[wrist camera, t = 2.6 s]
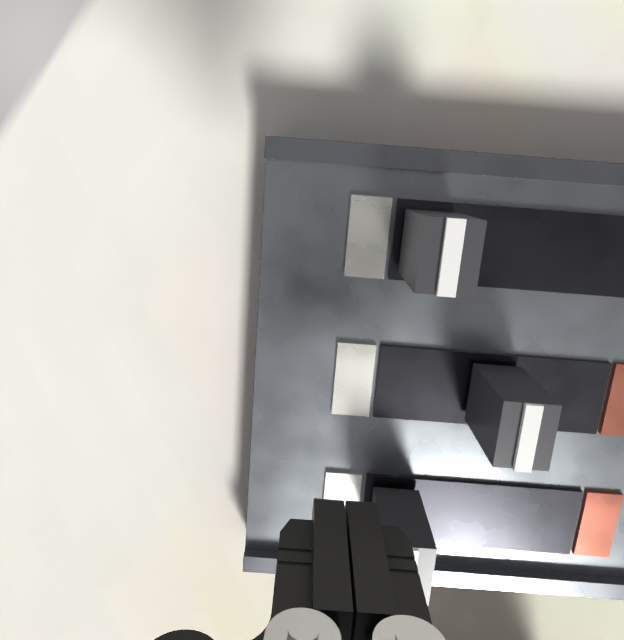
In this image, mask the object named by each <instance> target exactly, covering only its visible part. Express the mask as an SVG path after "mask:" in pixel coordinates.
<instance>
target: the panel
mask: <svg viewBox="0 0 624 640" xmlns="http://www.w3.org/2000/svg"><path fill="white" fill-rule="evenodd" d="M265 158H266V169H265V188H264V207H263V225H262V244H261V263H260V282H259V301H258V319H257V338H256V357H255V376H254V395H253V413H252V432H251V451H250V470H249V489H248V507H247V526H246V545H245V552H244V559H243V572H256V573H270V574H276V566H277V556H278V546H279V537H280V531H281V530H282V528H283V527H284V526H285V525H286V523H287V522H288V521H289V520H290V518H291V519H304V520H312V509H313V500H314V498H318V499H332V500H344V505H345V502H346V500H347V501H361V502H372V494H373V487H382V488H395V489H409V490H419V492H420V495H421V499H422V502H423V505H424V508H425V512H426V515H427V518H428V521H429V524H430V528H431V531H432V534H433V537H434V541H435V544H436V547H437V554H436V561H435V567H434V574H433V580H432V586H441V587H454V588H468V589H481V590H494V591H507V592H520V593H534V594H547V595H560V596H573V597H586V598H600V599H613V600H624V164H619V163H607V162H594V161H581V160H568V159H556V158H543V157H530V156H518V155H505V154H492V153H479V152H467V151H454V150H441V149H429V148H416V147H403V146H390V145H378V144H365V143H352V142H340V141H327V140H314V139H301V138H289V137H276V136H266V140H265ZM405 209H419V210H431V211H444V212H457V213H461V214H465V215H468V216H472V217H476V218H479V219H483V220H487V226H486V233H485V239H484V246H483V252H482V259H481V265H480V272H479V278H478V285H477V292H476V298H469V297H456V298H454V297H441V296H436V295H430V294H417V293H414V292H413V291H412V290H411V288H410V287H409V286H408V285H407V283H406V282H405V281H404V279H403V278H402V277H401V276H400V274H399V273H398V270H399V261H400V252H401V244H402V235H403V226H404V218H405ZM473 363H476V364H489V365H502V366H515V367H522V368H523V369H524V370H525V371H526V372H527V373H529V374H530V375H531V376H532V377H533V378H534V379H535V380H536V381H537V382H538V383H539V384H540V385H541V386H542V387H543V388H544V389H545V390H546V391H547V392H548V393H549V394H550V395H552V396H553V397H554V398H555V399H556V400H557V401H558V402H559V403H560V404H561V405H562V409H561V414H560V419H559V424H558V429H557V434H556V439H555V444H554V449H553V454H552V459H551V464H550V469H549V471H539V470H532V472H531V473H529V472H516V471H514V470H513V469H512V468H499V467H492V465H491V463H490V462H489V460H488V458H487V457H486V455H485V453H484V452H483V450H482V448H481V446H480V445H479V443H478V441H477V440H476V438H475V436H474V435H473V433H472V431H471V429H470V428H469V426H468V424H467V423H466V421H465V413H466V407H467V400H468V394H469V387H470V381H471V375H472V368H473Z"/></svg>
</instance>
